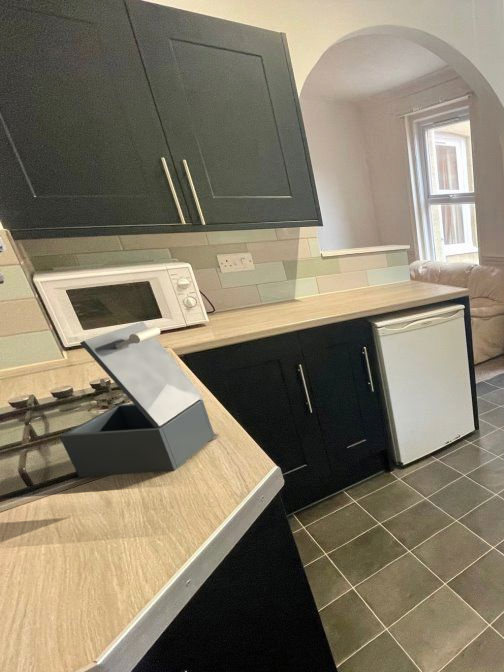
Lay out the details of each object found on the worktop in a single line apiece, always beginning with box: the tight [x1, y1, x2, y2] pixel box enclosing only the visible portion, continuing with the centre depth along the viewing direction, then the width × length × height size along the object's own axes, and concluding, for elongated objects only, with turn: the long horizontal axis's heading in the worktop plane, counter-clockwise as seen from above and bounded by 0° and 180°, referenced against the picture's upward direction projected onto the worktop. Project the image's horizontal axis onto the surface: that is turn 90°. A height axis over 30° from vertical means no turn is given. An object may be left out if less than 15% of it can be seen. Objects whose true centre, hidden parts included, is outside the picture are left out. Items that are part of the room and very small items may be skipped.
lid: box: [79, 321, 205, 428], centre depth 73 cm, size 16×13×5 cm
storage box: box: [59, 399, 216, 478], centre depth 77 cm, size 16×13×10 cm
